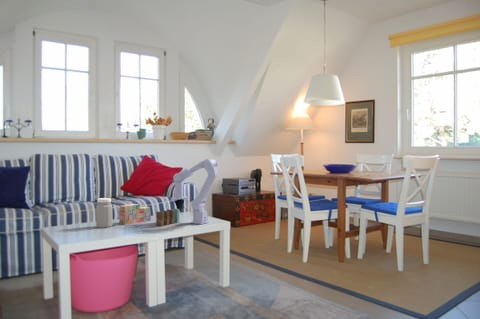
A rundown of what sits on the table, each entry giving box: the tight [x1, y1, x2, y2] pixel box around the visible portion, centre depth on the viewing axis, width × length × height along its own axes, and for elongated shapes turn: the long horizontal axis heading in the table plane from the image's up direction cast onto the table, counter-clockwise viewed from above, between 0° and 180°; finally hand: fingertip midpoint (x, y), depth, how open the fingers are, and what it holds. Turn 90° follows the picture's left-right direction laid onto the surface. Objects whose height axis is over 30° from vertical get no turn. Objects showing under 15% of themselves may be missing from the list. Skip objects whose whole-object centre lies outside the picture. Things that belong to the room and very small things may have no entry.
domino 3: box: [166, 209, 175, 225], centre depth 259 cm, size 2×5×9 cm, turn 58°
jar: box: [95, 197, 114, 229], centre depth 247 cm, size 10×10×18 cm
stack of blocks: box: [118, 203, 152, 226], centre depth 264 cm, size 21×6×12 cm, turn 143°
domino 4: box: [171, 208, 180, 224], centre depth 264 cm, size 2×5×9 cm, turn 58°
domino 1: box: [155, 211, 165, 227], centre depth 251 cm, size 2×5×9 cm, turn 58°
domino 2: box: [161, 210, 170, 226], centre depth 255 cm, size 2×5×9 cm, turn 58°
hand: (179, 210), depth 267 cm, fingers closed
